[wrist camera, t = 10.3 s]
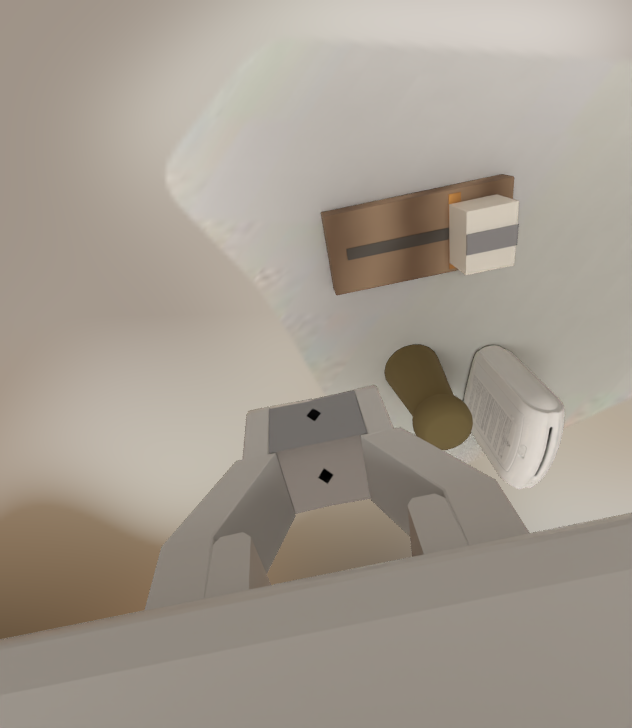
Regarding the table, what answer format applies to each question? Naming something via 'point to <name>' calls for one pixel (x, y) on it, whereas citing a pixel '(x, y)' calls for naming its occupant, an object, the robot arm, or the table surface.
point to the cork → (428, 397)
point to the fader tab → (483, 233)
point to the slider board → (398, 235)
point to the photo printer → (513, 416)
